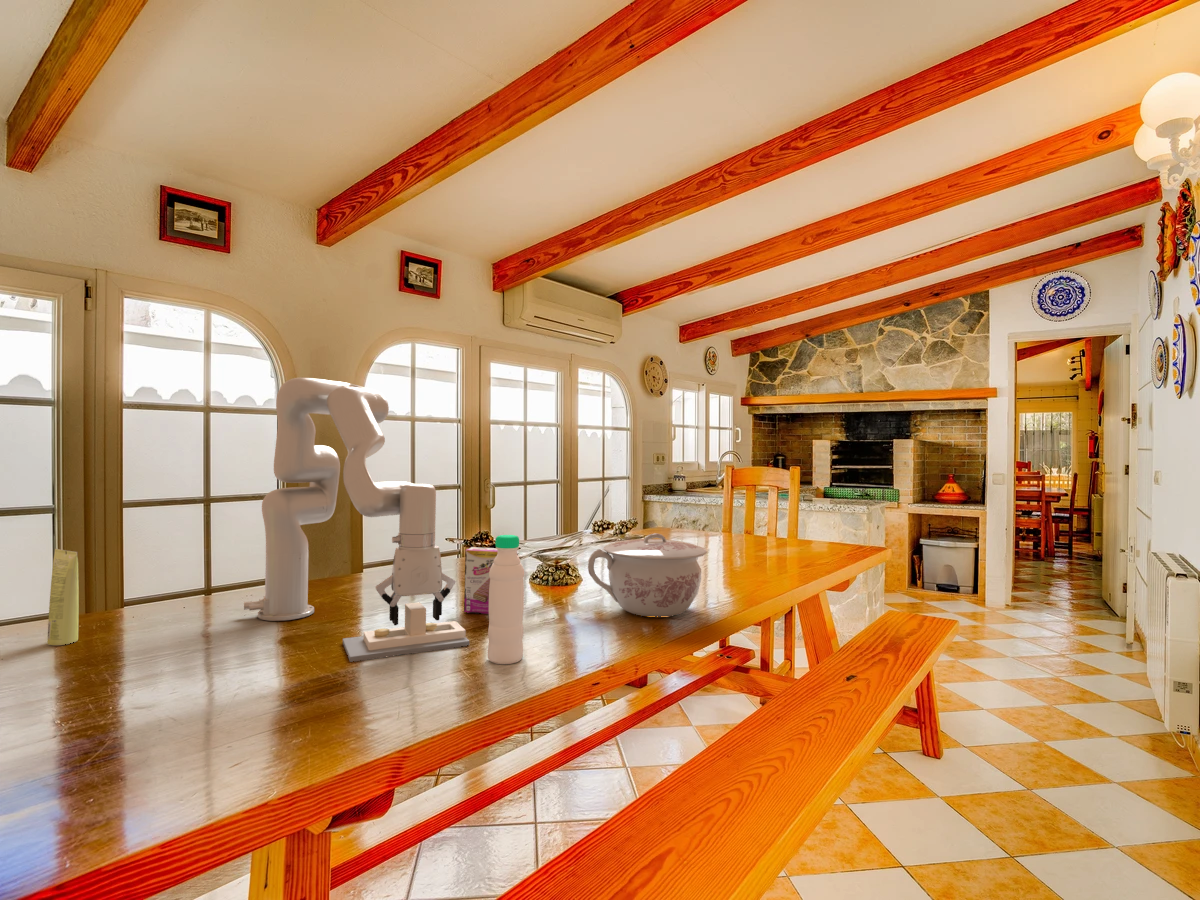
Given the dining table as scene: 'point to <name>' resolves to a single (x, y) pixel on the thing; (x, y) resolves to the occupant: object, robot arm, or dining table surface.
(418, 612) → the pink tray with post
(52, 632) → the tube
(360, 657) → the board
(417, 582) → the robot arm
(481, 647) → the dining table surface
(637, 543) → the chamber pot
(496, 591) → the water bottle
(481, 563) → the candy bar box
